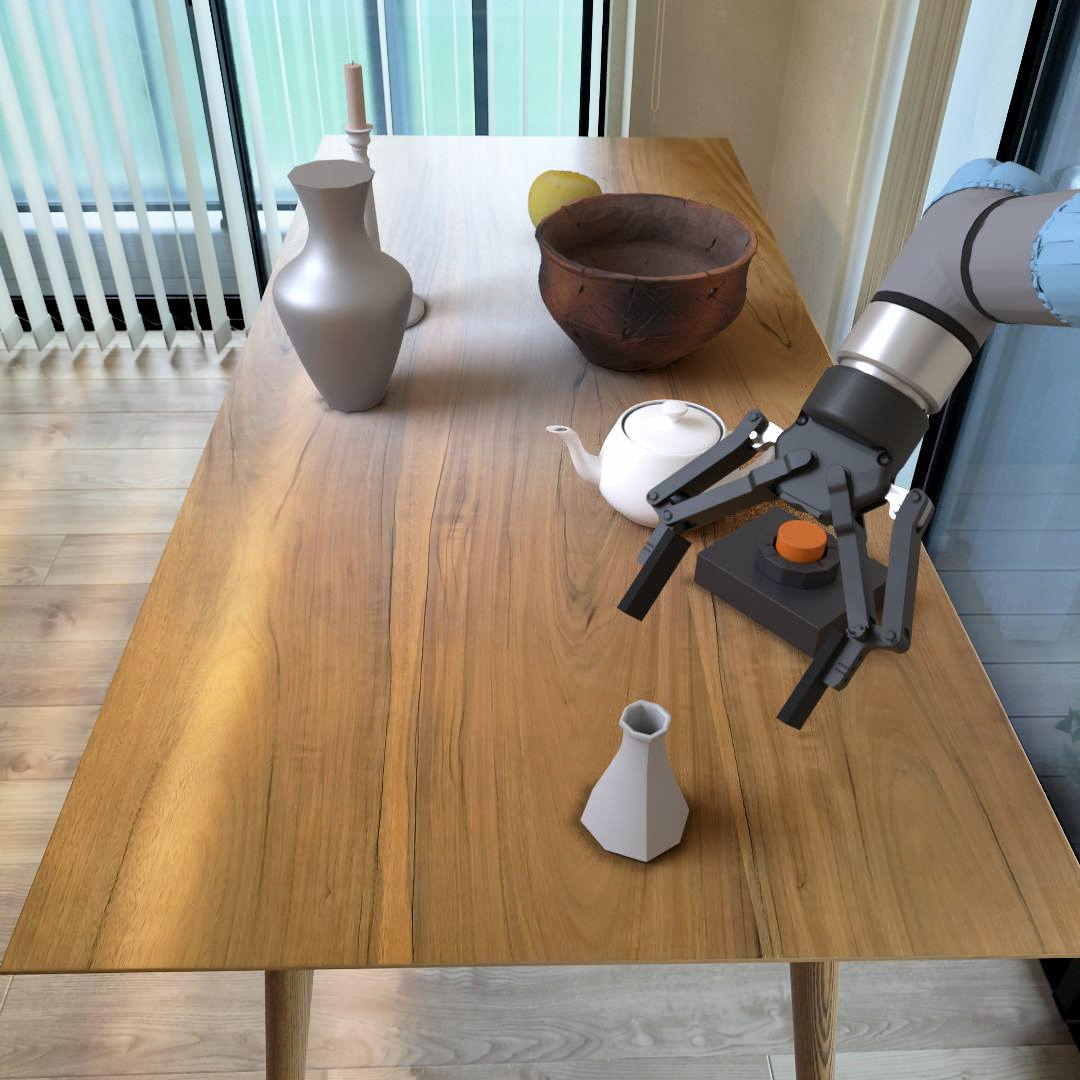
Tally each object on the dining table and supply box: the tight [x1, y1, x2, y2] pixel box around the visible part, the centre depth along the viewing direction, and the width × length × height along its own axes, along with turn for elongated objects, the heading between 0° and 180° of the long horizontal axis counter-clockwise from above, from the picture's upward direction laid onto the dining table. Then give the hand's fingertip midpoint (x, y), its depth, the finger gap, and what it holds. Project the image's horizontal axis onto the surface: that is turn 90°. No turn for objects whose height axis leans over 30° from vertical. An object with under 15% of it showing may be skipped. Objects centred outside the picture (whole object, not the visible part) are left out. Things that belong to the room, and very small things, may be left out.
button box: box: [693, 505, 888, 659], centre depth 93 cm, size 13×11×5 cm
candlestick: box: [341, 60, 425, 329], centre depth 128 cm, size 13×13×30 cm
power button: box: [776, 519, 827, 564], centre depth 91 cm, size 4×4×2 cm
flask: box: [580, 699, 690, 863], centre depth 72 cm, size 7×7×10 cm
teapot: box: [545, 399, 775, 529], centre depth 102 cm, size 22×14×11 cm, turn 93°
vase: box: [271, 158, 414, 413], centre depth 112 cm, size 14×14×25 cm
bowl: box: [534, 192, 759, 372], centre depth 125 cm, size 25×25×15 cm
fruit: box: [527, 169, 603, 229], centre depth 154 cm, size 10×11×10 cm
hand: (703, 667), depth 71 cm, fingers open, 13 cm apart
